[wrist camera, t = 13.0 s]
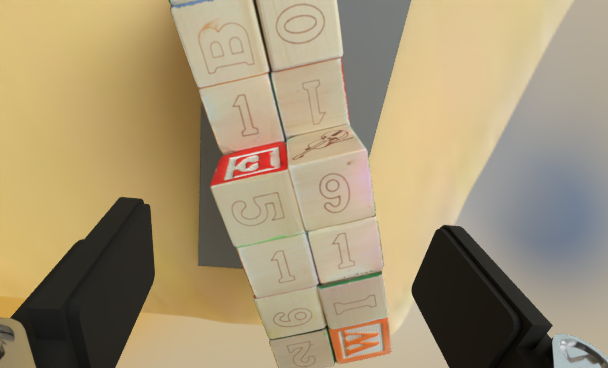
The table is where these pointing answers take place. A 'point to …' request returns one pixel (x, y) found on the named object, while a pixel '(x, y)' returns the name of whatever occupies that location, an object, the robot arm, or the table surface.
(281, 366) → the stack of blocks
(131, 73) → the table surface
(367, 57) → the charcoal mat
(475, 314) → the robot arm
